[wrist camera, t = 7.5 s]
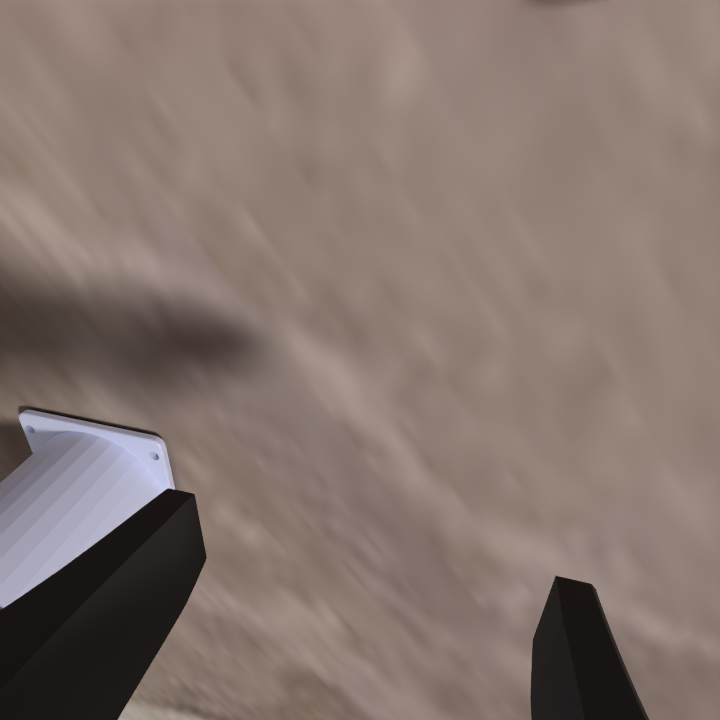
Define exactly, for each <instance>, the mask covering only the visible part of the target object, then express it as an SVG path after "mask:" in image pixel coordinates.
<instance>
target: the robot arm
mask: <svg viewBox="0 0 720 720" xmlns="http://www.w3.org/2000/svg"><path fill="white" fill-rule="evenodd" d="M19 420H20V422H21V425H22V428H23V430H24V433H25V435H26V438H27V440H28V443H29V445H30V448H31V450H32V453H33V454H32V455H31V456H30V457H29V458H28V459H27V460H25V461H24V462H23V463H22V464H21V465H20V466H19V467H18V468H16V469H15V470H14V471H13V472H12V473H11V474H10V475H9V476H7V477H6V478H5V479H4V480H3V481H2V482H1V483H0V720H118V718H119V716H120V714H121V713H122V711H123V709H124V708H125V706H126V704H127V703H128V701H129V699H130V698H131V696H132V694H133V693H134V691H135V689H136V688H137V686H138V684H139V683H140V681H141V679H142V678H143V676H144V674H145V673H146V671H147V669H148V668H149V666H150V664H151V663H152V661H153V659H154V658H155V656H156V654H157V653H158V651H159V649H160V648H161V646H162V644H163V643H164V641H165V639H166V638H167V636H168V634H169V633H170V631H171V629H172V627H173V626H174V624H175V622H176V621H177V619H178V617H179V616H180V614H181V612H182V610H183V609H184V607H185V605H186V603H187V601H188V599H189V597H190V594H191V592H192V590H193V588H194V586H195V584H196V581H197V579H198V577H199V575H200V572H201V570H202V568H203V565H204V563H205V561H206V558H207V557H206V552H205V547H204V542H203V536H202V531H201V526H200V521H199V515H198V510H197V505H196V500H195V494H192V493H188V492H183V491H179V490H175V486H174V482H173V477H172V473H171V468H170V463H169V459H168V454H167V449H166V445H165V443H164V441H163V440H162V439H161V438H160V437H158V436H155V435H150V434H145V433H140V432H135V431H131V430H126V429H121V428H116V427H111V426H106V425H102V424H97V423H92V422H87V421H82V420H77V419H72V418H68V417H63V416H58V415H53V414H48V413H43V412H39V411H34V410H25V411H23V412H22V413H21V414H20V415H19ZM531 715H532V720H649V718H648V716H647V714H646V712H645V710H644V708H643V705H642V703H641V701H640V699H639V697H638V695H637V692H636V690H635V688H634V686H633V683H632V681H631V679H630V676H629V674H628V672H627V669H626V667H625V665H624V662H623V660H622V657H621V655H620V653H619V650H618V648H617V645H616V643H615V640H614V638H613V635H612V633H611V630H610V628H609V625H608V622H607V620H606V617H605V614H604V611H603V609H602V606H601V603H600V600H599V597H598V595H597V592H596V589H595V588H594V587H593V585H592V584H589V583H585V582H581V581H576V580H572V579H567V578H563V577H558V576H556V577H555V580H554V582H553V585H552V588H551V591H550V594H549V596H548V599H547V602H546V605H545V607H544V610H543V613H542V616H541V619H540V621H539V624H538V627H537V630H536V633H535V635H534V638H533V649H532V672H531Z"/></svg>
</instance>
